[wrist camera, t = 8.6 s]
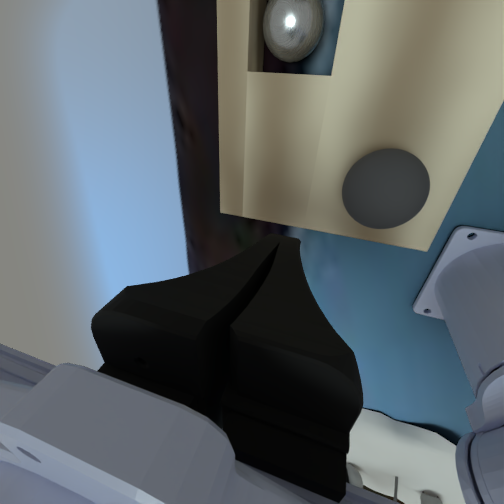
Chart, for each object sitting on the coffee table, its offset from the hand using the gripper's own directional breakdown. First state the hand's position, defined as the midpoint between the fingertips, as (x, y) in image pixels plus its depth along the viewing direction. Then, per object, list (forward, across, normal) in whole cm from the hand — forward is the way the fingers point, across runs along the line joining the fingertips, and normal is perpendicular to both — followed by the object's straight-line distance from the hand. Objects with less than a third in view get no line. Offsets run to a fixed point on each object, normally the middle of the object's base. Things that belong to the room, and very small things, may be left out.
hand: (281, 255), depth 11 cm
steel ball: (+8, +2, -9) cm, 12 cm away
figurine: (+10, -17, +33) cm, 39 cm away
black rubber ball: (+5, -4, -2) cm, 7 cm away
